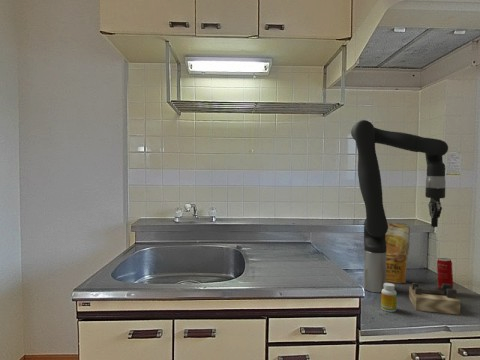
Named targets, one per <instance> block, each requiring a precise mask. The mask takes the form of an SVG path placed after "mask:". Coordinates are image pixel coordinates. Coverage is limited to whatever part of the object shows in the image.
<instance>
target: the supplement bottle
mask: <svg viewBox="0 0 480 360" xmlns="http://www.w3.org/2000/svg"><path fill="white" fill-rule="evenodd" d="M383 287H384V289H382V292H380V293H381V300H380V301H381V303H380V308H381V309H382V311H384V312H389V313H394V312H396V311H397V296H398V295H397V294H398V293H397V291H396V289H395V288H396V286H395V283H390V282H386V283H384V286H383Z"/></svg>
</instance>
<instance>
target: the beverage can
mask: <svg viewBox="0 0 480 360" xmlns="http://www.w3.org/2000/svg"><path fill="white" fill-rule="evenodd" d="M436 271H437V272H436V273H437V288H442V283H443V284H451V289H454V277H453V276H454V275H453V261H452V259H450V258H447V257H439V258H437V260H436Z"/></svg>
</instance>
